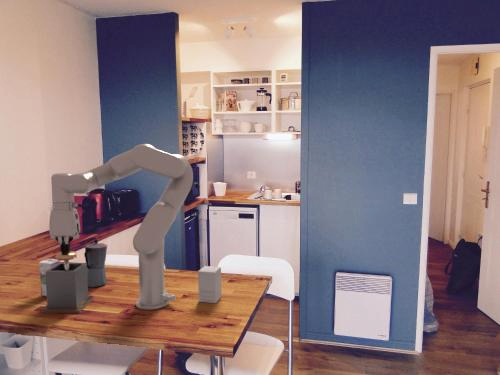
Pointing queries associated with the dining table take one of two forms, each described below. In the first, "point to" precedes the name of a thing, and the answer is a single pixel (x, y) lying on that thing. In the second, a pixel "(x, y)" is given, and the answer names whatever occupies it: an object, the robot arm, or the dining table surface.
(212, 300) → the supplement box
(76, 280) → the grey square canister
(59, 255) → the plunger
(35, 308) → the dining table surface
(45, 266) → the syrup box
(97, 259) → the moka pot
